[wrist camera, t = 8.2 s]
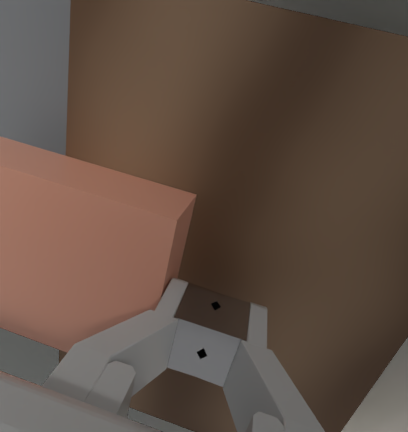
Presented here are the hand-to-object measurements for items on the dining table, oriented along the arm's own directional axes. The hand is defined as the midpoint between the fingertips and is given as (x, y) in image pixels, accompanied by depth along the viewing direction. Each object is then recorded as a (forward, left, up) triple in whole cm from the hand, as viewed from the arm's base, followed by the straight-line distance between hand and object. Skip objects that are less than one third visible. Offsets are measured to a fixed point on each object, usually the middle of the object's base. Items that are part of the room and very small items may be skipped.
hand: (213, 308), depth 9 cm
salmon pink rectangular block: (+6, 0, -1) cm, 6 cm away
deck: (0, 0, -4) cm, 4 cm away
